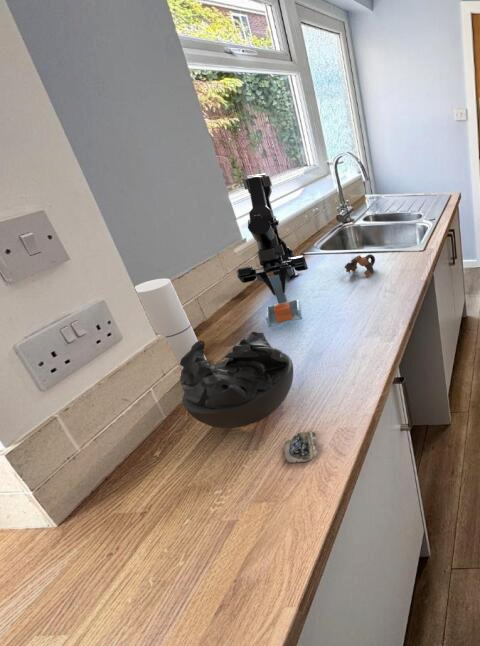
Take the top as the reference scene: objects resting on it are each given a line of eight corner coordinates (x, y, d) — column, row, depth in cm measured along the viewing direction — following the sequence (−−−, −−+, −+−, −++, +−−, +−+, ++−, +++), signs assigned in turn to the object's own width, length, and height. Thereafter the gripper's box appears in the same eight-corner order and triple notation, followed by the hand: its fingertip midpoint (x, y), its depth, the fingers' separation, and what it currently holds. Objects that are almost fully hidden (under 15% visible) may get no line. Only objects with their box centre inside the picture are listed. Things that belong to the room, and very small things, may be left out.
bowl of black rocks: (321, 402, 92) (299, 333, 84) (226, 467, 77) (188, 390, 69) (276, 373, 102) (252, 309, 94) (185, 425, 88) (147, 354, 80)
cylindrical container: (191, 380, 101) (148, 293, 91) (168, 377, 103) (123, 291, 92) (215, 362, 108) (177, 279, 97) (193, 360, 109) (154, 277, 98)
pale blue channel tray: (269, 313, 126) (257, 278, 121) (300, 305, 130) (290, 271, 125) (268, 327, 119) (255, 291, 113) (302, 318, 122) (291, 283, 117)
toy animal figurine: (363, 282, 150) (348, 265, 147) (352, 286, 156) (338, 270, 153) (385, 262, 157) (371, 246, 155) (374, 267, 164) (360, 252, 161)
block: (277, 316, 123) (273, 305, 121) (292, 313, 125) (288, 301, 123) (277, 322, 120) (273, 311, 118) (292, 319, 121) (288, 307, 120)
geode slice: (310, 428, 85) (307, 422, 84) (329, 447, 80) (327, 440, 79) (277, 449, 80) (274, 442, 79) (295, 471, 76) (292, 463, 75)
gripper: (226, 244, 117) (236, 292, 113) (297, 231, 124) (308, 276, 120) (238, 259, 127) (247, 305, 123) (302, 247, 134) (313, 289, 130)
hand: (279, 293), depth 124 cm, fingers closed on pale blue channel tray, 2 cm apart
